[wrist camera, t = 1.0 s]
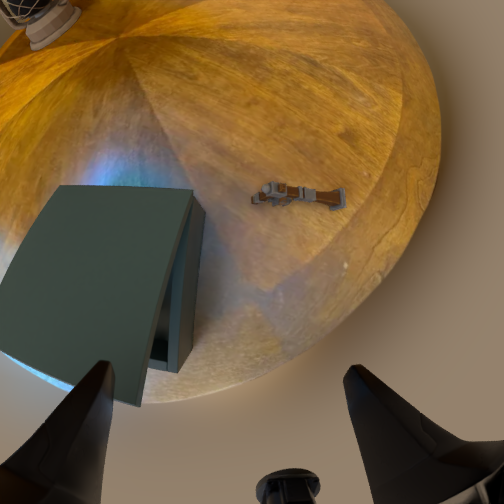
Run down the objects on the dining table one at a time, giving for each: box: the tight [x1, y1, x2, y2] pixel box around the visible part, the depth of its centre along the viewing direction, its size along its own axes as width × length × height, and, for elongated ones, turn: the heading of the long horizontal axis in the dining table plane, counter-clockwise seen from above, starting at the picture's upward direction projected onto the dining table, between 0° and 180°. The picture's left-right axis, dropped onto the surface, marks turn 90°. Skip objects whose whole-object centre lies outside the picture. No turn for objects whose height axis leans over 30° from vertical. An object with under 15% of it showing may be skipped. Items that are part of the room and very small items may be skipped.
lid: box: [0, 185, 193, 407], centre depth 13 cm, size 13×12×1 cm
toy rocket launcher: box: [251, 181, 346, 211], centre depth 23 cm, size 2×8×4 cm, turn 92°
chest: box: [148, 196, 206, 373], centre depth 21 cm, size 13×12×6 cm
